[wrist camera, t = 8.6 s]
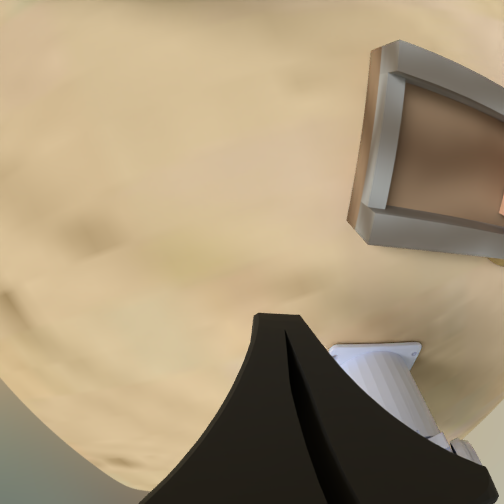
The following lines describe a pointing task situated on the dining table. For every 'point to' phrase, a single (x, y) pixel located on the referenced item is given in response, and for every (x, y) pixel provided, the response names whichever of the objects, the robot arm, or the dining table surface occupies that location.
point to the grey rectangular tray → (430, 156)
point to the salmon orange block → (502, 207)
